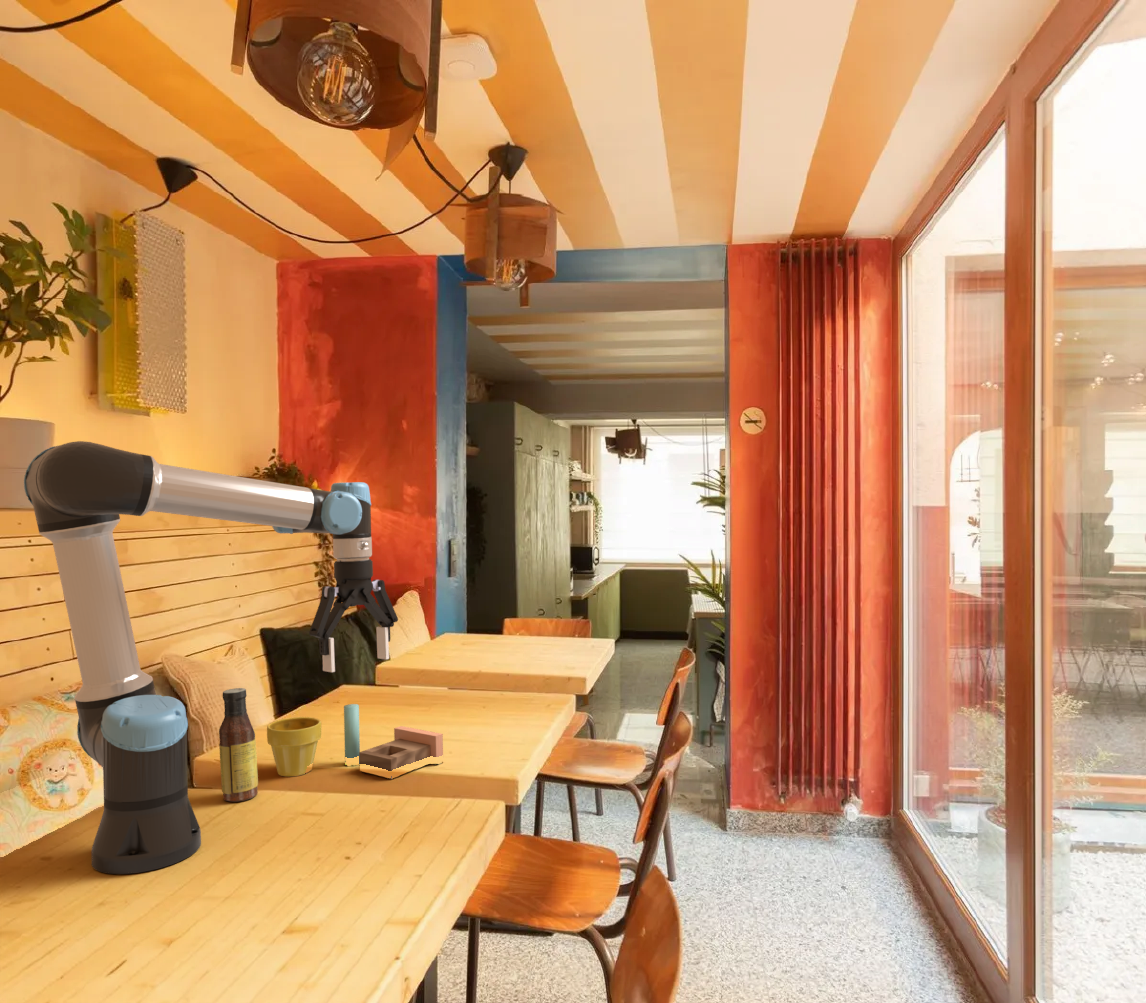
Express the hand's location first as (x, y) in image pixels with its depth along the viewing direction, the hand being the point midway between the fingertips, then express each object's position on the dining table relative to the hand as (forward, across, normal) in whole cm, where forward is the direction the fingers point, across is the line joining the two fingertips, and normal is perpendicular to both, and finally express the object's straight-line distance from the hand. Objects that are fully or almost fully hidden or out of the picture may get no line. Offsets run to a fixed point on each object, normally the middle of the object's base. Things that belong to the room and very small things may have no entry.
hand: (357, 665), depth 167 cm
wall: (+22, +12, -4) cm, 25 cm away
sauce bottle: (+21, -22, +7) cm, 32 cm away
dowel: (+21, +2, +5) cm, 22 cm away
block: (+22, +5, -5) cm, 23 cm away
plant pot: (+21, -8, +11) cm, 25 cm away
